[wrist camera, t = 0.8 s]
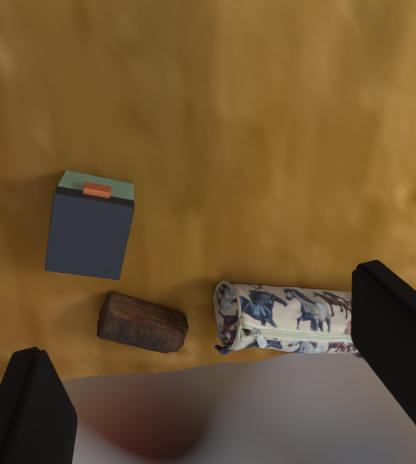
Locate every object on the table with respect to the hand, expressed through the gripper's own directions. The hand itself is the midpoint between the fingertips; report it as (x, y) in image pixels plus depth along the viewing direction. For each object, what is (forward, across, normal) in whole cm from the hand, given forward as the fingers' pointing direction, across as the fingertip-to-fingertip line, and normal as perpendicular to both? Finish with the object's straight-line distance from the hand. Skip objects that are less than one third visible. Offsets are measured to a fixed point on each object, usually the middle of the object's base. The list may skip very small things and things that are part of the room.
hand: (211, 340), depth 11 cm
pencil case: (+31, -13, +25) cm, 42 cm away
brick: (+31, +6, +22) cm, 38 cm away
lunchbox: (+31, +8, +6) cm, 32 cm away
